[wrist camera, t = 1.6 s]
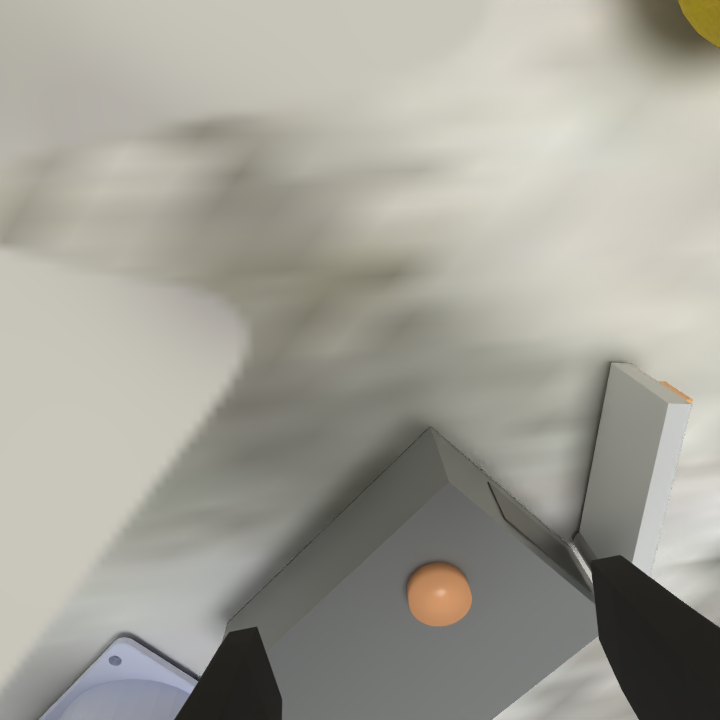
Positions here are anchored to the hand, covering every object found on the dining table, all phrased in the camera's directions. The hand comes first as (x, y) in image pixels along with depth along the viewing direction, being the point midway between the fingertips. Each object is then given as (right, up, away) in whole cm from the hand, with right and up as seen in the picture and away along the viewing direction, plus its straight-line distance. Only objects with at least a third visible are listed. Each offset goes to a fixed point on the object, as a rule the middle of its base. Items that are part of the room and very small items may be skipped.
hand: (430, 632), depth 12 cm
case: (0, -4, +12) cm, 12 cm away
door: (+8, +2, +10) cm, 13 cm away
